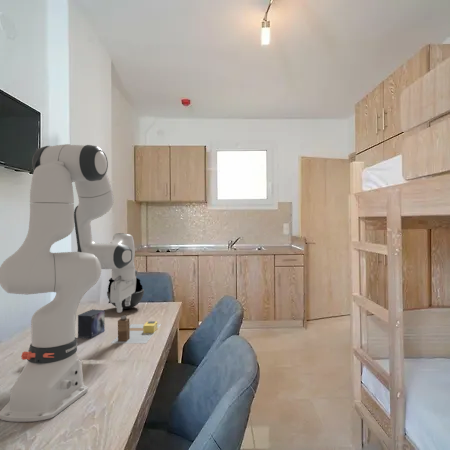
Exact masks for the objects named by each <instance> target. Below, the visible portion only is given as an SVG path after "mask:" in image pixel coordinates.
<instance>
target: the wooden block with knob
mask: <svg viewBox="0 0 450 450" xmlns="http://www.w3.org/2000/svg"><path fill="white" fill-rule="evenodd" d="M127 317H128V316H127V314H126V315H125V314H124V315H123V314H122V315H120V318H119V319H118V320H117V337H118V341H128V340H129V339H130V325H131V324H130V318H127Z"/></svg>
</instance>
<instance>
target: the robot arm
mask: <svg viewBox="0 0 450 450" xmlns="http://www.w3.org/2000/svg"><path fill="white" fill-rule="evenodd" d="M31 163H32V168H33V173H32V178H31V184H30V189H29V190H30V191H29V223H28V231H27V234H26V238H25V239H24V241H23V242H22V244H21V246H20V247H18V249H17V250H16V251H15V252H14V253H13V254H11V255H10V256H8V257H7V258H6V259H4V261H3V262H2V263H1V264H0V286H1V288H2V289H3V290H4V291H5V292H6V293H7V294H14V295H35V294H36V295H37V294H45V293H46V294H47V293H55V297H54V298H53V299H52V300H51V301H50V302H48V303H46V304H44V305H43V306H41V307H39V308H38V309H37V310H36V311H35V312H34V313H33V315H32V316H31V320H30V325H31V326H30V327H31V328H30V329H31V331H30V332H31V336H30V337H31V339H30V340H31V343H30V345H29V348H28V350H27V351H23V352H22V353H21V356H20V357H21V359H22V361H23V360H25V361H26V360H27V362H25V363H26V364H25V365H24V367H23V368H22V369H21V372H20V374H18V377H17V378H16V381H14V383H13V385H12V387H11V390H10V395H9V401H8V402H7V403H6V404H5V406H4V407H3V408H2V409H1V410H0V420H2V421H5V422H6V421H7V422H15V423H16V422H18V423H19V422H24V423H26V422H37V421H38V422H39V421H40V422H41V421H44V420H45V421H46V420H49V419H53V418H54V417H56V416H57V415H58V414H59V413H61V412H62V411H63V410H65V409H66V408H68V406H70V405H72V404H73V403H74V402H76V400H78V399H79V398H81V397H82V396H84V395H85V394H86V393H88V391H89V388H88V386H87V385H85V384H84V375H83V366H82V365H83V364H82V361H81V359H80V358H79V356H78V355H77V352H78V339H77V338H78V337H76V318H77V310H78V308H79V304H80V303H81V300H82V299H83V297H84V296H85V295H86V293H87V292H88V291H89V290H90V289H91V288H92V287H94V286H95V285H96V284H97V283H98V281H99V280H100V278H101V274H102V270H111V278H112V279H113V280H114V282H113V283H112V284H111V292H110V301H111V302H110V301H109V302H110V303H115V305H116V307H115V308H116V313H122V312H123V310H124V309H123V307H122V305H121V304H122V301H123V300H124V299H126V301H125V306H130V300H131V294H133V293H134V292H135V289H136V278H137V276H138V270H137V269H136V266H135V265H136V264H135V256H136V253H135V252H136V251H135V250H136V249H135V241H134V237H133V235H131V234H130V233H123V232H122V233H121V232H120V233H114V234H113V237H112V241H111V242H107V243H105V242H103V243H102V242H101V243H99V242H95V241H94V240H93V237H92V236H93V235H92V227H91V222H92V221H94V220H96V219H99V218H101V217H103V216H105V215H106V214H107V213H108V212H109V211H110V210H112V208H113V205H114V200H115V199H114V193H113V189H112V185H111V181H110V179H109V175H108V174H107V172H108V168H109V166H108V165H109V162H108V157H107V155H106V153H105V151H103V150H102V148H100V147H99V146H97V145H91V144H85V145H84V144H83V145H82V144H81V145H80V144H68V143H67V144H66V143H64V144H55V145H46V146H42V147H39V148H38V149H36V150H35V152H34V154H33V156H32V160H31ZM73 183H74V185H75V186H74V187H75V191H76V195H77V198H78V204H77V206H75V204H74V203H75V201H74V200H75V199H74V190H73V189H74V188H73ZM74 229H75V231H74ZM73 231H74V232H75V237H76V245H77V251H65V252H52V251H51V247H53V245H54V244H55V243H57V242H59V241H61V240H63V239H65V238H67V237H68V236H70V235H71V234H72V233H73Z"/></svg>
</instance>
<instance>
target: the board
mask: <svg viewBox="0 0 450 450" xmlns="http://www.w3.org/2000/svg"><path fill="white" fill-rule="evenodd" d="M144 324H145V323H144ZM144 324H143V323H141V324H140V323H131V324H129V325H130V339H129V340H128V341H118V336H116V338H114V339H113V340H112V341H111V342H110V344H147V343H148V342H149V341H150V339H151V338H152V337H153V336H154V334H156V332H157V331H158V329H159V328H160V327H161V325H162V324H161V323H157V330H156V331H155V332H154V333H143V326H144Z"/></svg>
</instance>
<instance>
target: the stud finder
mask: <svg viewBox="0 0 450 450" xmlns="http://www.w3.org/2000/svg"><path fill="white" fill-rule="evenodd" d="M157 324H158V321H156V320H155V321H150V320H148V321H146V322H145V323H144V326H143V333H154V332H155V331H156V330H157V331H158V329H157ZM157 331H156V332H157ZM156 332H155V333H156ZM155 333H154V334H155Z"/></svg>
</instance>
